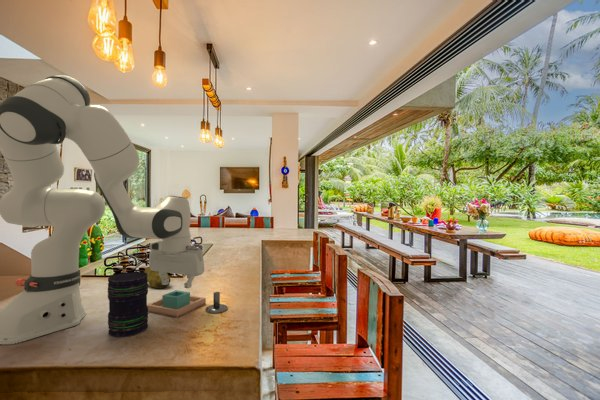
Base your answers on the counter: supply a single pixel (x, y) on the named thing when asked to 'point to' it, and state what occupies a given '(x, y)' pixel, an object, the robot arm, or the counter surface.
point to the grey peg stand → (216, 305)
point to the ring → (176, 299)
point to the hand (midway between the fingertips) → (176, 286)
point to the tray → (158, 309)
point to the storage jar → (127, 304)
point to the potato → (155, 278)
